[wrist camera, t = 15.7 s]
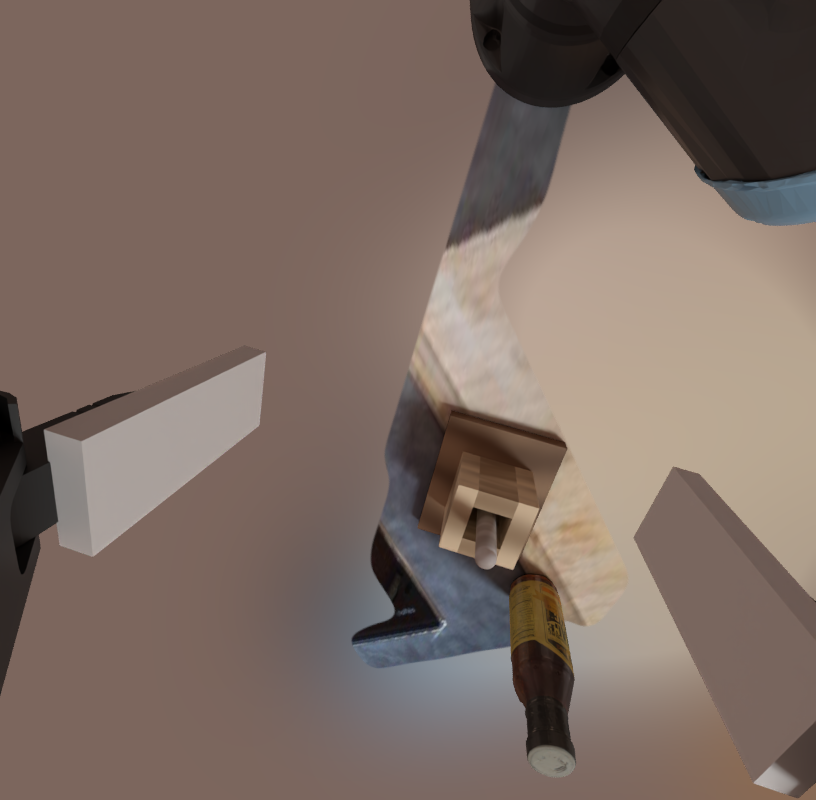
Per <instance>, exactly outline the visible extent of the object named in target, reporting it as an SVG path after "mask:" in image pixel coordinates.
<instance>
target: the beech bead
mask: <svg viewBox="0 0 816 800" xmlns="http://www.w3.org/2000/svg"><path fill="white" fill-rule="evenodd" d="M477 508H478V509H481V510H485V511H488V512H491V513H494V514H496V540H497V561H496V564H495V565H498V566H502V567H505V568H508V569H511V570H513V569H514V567H515V565H516V562H517V560H518V558H519V555H520V553H521V551H522V548H523V546H524V544H525V541H526V539H527V537H528V534H529V532H530V530H531V527H532V525H533V523H534V520H535V518H536V516H537V513H538V511H539V504H538V498H537V493H536V488H535V482H534V477H533V472H532V471H529V470H525V469H522V468H518V467H515V466H511V465H508V464H504V463H501V462H498V461H494V460H491V459H487V458H484V457H480V456H477V455H473V454H470V453H467V452H463V453H462V457H461V460H460V463H459V466H458V469H457V472H456V475H455V479H454V482H453V485H452V488H451V491H450V494H449V498H448V501H447V504H446V507H445V512H444V518H443V524H442V530H441V536H440V542H439V547H441V548H444V549H447V550H450V551H454V552H457V553H460V554H463V555H466V556H470V557H473V558H475V542H476V522H477Z"/></svg>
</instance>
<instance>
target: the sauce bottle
mask: <svg viewBox="0 0 816 800" xmlns="http://www.w3.org/2000/svg"><path fill="white" fill-rule="evenodd" d="M509 608H510V641H511V661H512V667H513V685H514V688H515V691H516V694H517V696H518V698H519V700H520V702H522V703H523V705H524V706H525V708H526V711H525V715H526V718H527V729H528V738H527V741H526V749H527V758H528V761H529V763H530V765H531V766H532V768H533V769H534V770H536V771H537V772H539V773H541V774H544V775H546V776H549V777H564V776H566V775H569V774H570V773H571V772H572V771H573V770H574V768H575V765H576V759H575V749H574V746H573V744H572V742H571V739H570V732H569V725H568V711H569V706H570V701H571V695H572V690H573V685H574V673H573V666H572V662H571V656H570V651H569V644H568V639H567V634H566V628H565V623H564V618H563V612H562V607H561V602H560V597H559V595H558V592H557V589H556V587H555V586H554V585H553V583H552V582H551V581H550V580H548V579H547V578H545V577H544V576H541V575H534V574H528V575H523V576H521V577H519V578H518V579H516V580H515V581H514V582H513V583H512V585H511V588H510V595H509Z"/></svg>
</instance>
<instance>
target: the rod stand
mask: <svg viewBox="0 0 816 800" xmlns="http://www.w3.org/2000/svg"><path fill="white" fill-rule="evenodd" d="M566 451H567V447H566V444H565V442H561V441H558V440H554V439H550V438H547V437H543V436H540V435H536V434H533V433H529V432H526V431H522V430H519V429H515V428H512V427H508V426H505V425H501V424H498V423H494V422H491V421H487V420H484V419H480V418H476V417H473V416H469V415H466V414H462V413H459V412H455V411H451V415H450V418H449V421H448V425H447V428H446V432H445V435H444V438H443V442H442V445H441V449H440V452H439V456H438V459H437V462H436V466H435V469H434V473H433V476H432V479H431V483H430V486H429V490H428V493H427V496H426V500H425V503H424V507H423V510H422V513H421V517H420V520H419V524H418V528H419V529H422V530H425V531H428V532H432V533H435V534H438V535H441V530H442V524H443V518H444V512H445V507H446V504H447V501H448V498H449V494H450V491H451V488H452V485H453V482H454V479H455V475H456V472H457V469H458V466H459V463H460V460H461V457H462V453H463V452H467V453H470V454H473V455H477V456H480V457H484V458H487V459H491V460H494V461H498V462H501V463H504V464H508V465H511V466H515V467H518V468H522V469H525V470H529V471H532V472H533V477H534V482H535V488H536V493H537V498H538V504H539V511H538V513H537V516H536V518H535V520H534V523H533V525H532V527H531V530H530V532H529V534H528V537H527V539H526V541H525V544H524V546H523V548H522V551H521V553H520V555H519V558H518V560H519V559H520V557H521V555H522V552H523V550H524V548H525V545H526V543H527V541H528V539H529V536H530V534H531V532H532V529H533V527H534V525H535V522H536V520H537V518H538V515H539V513H540V511H541V509H542V506H543V504H544V502H545V499H546V497H547V495H548V492H549V490H550V488H551V485H552V483H553V481H554V478H555V476H556V474H557V472H558V469H559V467H560V465H561V462H562V460H563V458H564V455H565V453H566ZM475 561H476V563H477V565H478V566H479V567H480V568H482V569H491V568H492V567H494V566H495V564H496V561H497V540H496V514H494V513H491V512H488V511H485V510H481V509H478V508H477V522H476V542H475Z"/></svg>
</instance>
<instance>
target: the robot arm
mask: <svg viewBox="0 0 816 800" xmlns="http://www.w3.org/2000/svg"><path fill="white" fill-rule="evenodd" d="M470 10H471V22H472V31H473V36H474V40H475V45H476V48H477V51H478V54H479V56H480V59H481V61H482V63H483V65H484V67H485V68H486V70H487V72H488V73H489V75H490V76H491V77H492V79H493V80H494V81H495V82H496V84H497V85H498V86H499V87H500V88H502V89H503V90H504V91H505V92H506V93H508V94H509V95H510V96H512V97H514V98H516V99H517V100H519V101H522V102H524V103H527V104H530V105H534V106H539V107H564V106H569V105H573V104H577V103H580V102H583V101H585V100H587V99H590V98H592V97H594V96H596V95H598V94H599V93H601V92H603V91H604V90H606V89H607V88H609V87H610V86H611V85H613V84H614V83H615V82H616V81H617V80H619V79H620V78H621V77H622V76H623V75H624V74H626V75H627V77H628V78H629V79H630V81H631V82H632V83H633V85H634V86H635V87H636V88H637V90H638V91H639V92H640V94H641V95H642V96H643V98H644V99H645V100H646V102H647V103H648V104H649V105H650V107H651V108H652V109H653V111H654V112H655V113H656V114H657V116H658V117H659V118H660V120H661V121H662V122H663V123H664V125H665V126H666V127H667V129H668V130H669V131H670V133H671V134H672V135H673V136H674V138H675V139H676V140H677V142H678V143H679V144H680V145H681V147H682V148H683V149H684V151H685V152H686V153H687V155H688V156H689V157H690V158H691V160H692V161H693V162H694V164H695V168H694V170H695V172H696V174H697V176H698V177H699V178H700V179H701V180H702V181H703V182H705V183H706V184H708V185H710V186H712V187H714V189H715V190H716V191H717V192H718V193H719V194H720V195H721V197H722V198H723V199H724V200H725V201H726V202H727V204H728V205H729V206H730V207H731V208H732V209H733V210H734V211H735V212H736V213H737V214H738V215H739V216H741V217H742V218H744V219H747V220H751V221H755V222H757V223H762V224H764V225H773V226H783V225H798V224H805V223H811V222H816V0H470ZM265 359H266V352H265V351H261V350H258V349H255V348H251V347H248V346H243V347H240V348H238V349H235V350H233V351H230V352H228V353H226V354H223V355H221V356H218V357H216V358H214V359H211V360H209V361H207V362H205V363H202V364H199V365H197V366H195V367H192V368H190V369H187V370H185V371H183V372H180V373H178V374H175V375H173V376H171V377H168V378H166V379H164V380H161V381H159V382H156V383H154V384H152V385H149V386H147V387H144V388H142V389H140V390H138V391H133V392H128V393H123V394H117V395H112V396H110V397H107V398H105V399H103V400H100V401H97V402H95V403H93V405H92V406H91V405H87V406H85V407H83V408H80V409H78V410H77V411H76V412H70V413H68V414H65V415H63V416H60V417H58V418H55V419H53V420H50V421H48V422H46V423H43V424H41V425H38V426H35V427H33V428H31V429H28V430H26V431H23V432H22V429H21V423H20V417H19V410H18V404H17V398H16V397H14V396H13V395H11V394H10V393H7V392H3V391H0V694H1V691H2V687H3V683H4V680H5V676H6V672H7V668H8V665H9V661H10V658H11V654H12V650H13V647H14V643H15V639H16V636H17V632H18V629H19V625H20V621H21V617H22V614H23V610H24V606H25V603H26V599H27V596H28V592H29V588H30V585H31V581H32V577H33V573H34V570H35V566H36V562H37V559H38V555H39V552H40V539H39V534H40V533H42V532H43V531H45V530H46V529H48V528H49V527H51V526H52V525H54V524H56V523H57V529H58V536H59V543H60V546H63V547H66V548H69V549H72V550H75V551H77V552H81V553H83V554H86V555H89V556H92V557H93V556H94V555H96V554H97V553H98V552H100V551H101V550H102V549H103V548H105V547H106V546H107V545H108V544H110V543H111V542H112V541H113V540H115V539H116V538H117V537H119V536H120V535H121V534H122V533H124V532H125V531H126V530H127V529H129V528H130V527H131V526H132V525H134V524H135V523H136V522H138V521H139V520H140V519H141V518H143V517H144V516H145V515H146V514H148V513H149V512H150V511H151V510H153V509H154V508H155V507H157V506H158V505H159V504H160V503H162V502H163V501H164V500H165V499H167V498H168V497H169V496H170V495H172V494H173V493H174V492H175V491H177V490H178V489H179V488H181V487H182V486H183V485H184V484H186V483H187V482H188V481H189V480H191V479H192V478H193V477H195V476H196V475H197V474H198V473H200V472H201V471H202V470H203V469H204V468H206V467H207V466H208V465H210V464H211V463H212V462H213V461H215V460H216V459H217V458H219V457H220V456H221V455H222V454H224V453H225V452H226V451H227V450H229V449H230V448H231V447H232V446H234V445H235V444H236V443H238V442H239V441H240V440H241V439H242V438H244V437H245V436H246V435H248V434H249V433H250V432H251V431H253V430H254V429H255V428H257V427H258V426H259V424H260V413H261V402H262V391H263V381H264V380H263V379H264V369H265ZM634 539H635V541H636V543H637V545H638V548H639V550H640V552H641V554H642V556H643V558H644V560H645V562H646V564H647V566H648V568H649V570H650V572H651V574H652V576H653V578H654V580H655V582H656V584H657V587H658V588H659V591H660V593H661V595H662V597H663V599H664V601H665V603H666V605H667V607H668V609H669V611H670V613H671V615H672V617H673V619H674V621H675V623H676V625H677V628H678V630H679V632H680V634H681V636H682V638H683V640H684V642H685V644H686V646H687V648H688V650H689V652H690V654H691V656H692V658H693V660H694V663H695V664H696V666H697V669H698V671H699V673H700V675H701V677H702V679H703V681H704V683H705V685H706V687H707V689H708V691H709V693H710V695H711V697H712V699H713V701H714V703H715V706H716V708H717V710H718V712H719V714H720V716H721V718H722V720H723V722H724V724H725V726H726V728H727V730H728V732H729V734H730V736H731V739H732V740H733V743H734V745H735V746H736V749H737V751H738V753H739V755H740V757H741V759H742V761H743V763H744V765H745V767H746V769H747V771H748V773H749V775H750V778H751V780H752V782H753V783H754V784H757V785H761V786H763V787H766V788H769V789H772V790H775V791H778V792H781V793H784V794H787V795H789V796H792V797H796V798H799V797H800V796H801V795H803V794H804V793H805V792H806V791H807V790H808V789H809V788H810V787H811V786H813V785H814V784H815V783H816V601H815V600H814V599H813V598H811V597H810V596H809V595H808V594H807V592H805V590H804V589H803V588H802V587H801V586H800V585H799V584H798V583H797V581H796V580H795V579H794V578H793V577H792V576H791V575H790V574H789V573H788V571H787V570H786V569H785V568H784V567H783V566H782V565H781V564H780V563H779V562H778V560H777V559H776V558H775V557H774V556H773V555H772V554H771V553H770V552H769V551H768V549H767V548H766V547H765V546H764V545H763V544H762V543H761V542H760V541H759V539H757V537H756V536H755V535H754V534H753V533H752V532H751V531H750V530H749V528H748V527H747V526H746V525H745V524H744V523H743V522H742V521H741V520H740V518H739V517H738V516H737V515H736V514H735V513H734V512H733V511H732V510H731V509H730V507H729V506H728V505H727V504H726V503H725V502H724V501H723V500H722V499H721V497H720V496H719V495H718V494H717V493H716V492H715V491H714V490H713V489H712V487H710V485H709V484H708V483H707V482H706V481H705V480H704V479H703V478H702V477H701V475H700V474H697V473H694V472H690V471H687V470H683V469H680V468H676V467H673V468H672V470H671V471H670V473H669V475H668V477H667V479H666V481H665V482H664V484H663V486H662V488H661V489H660V491H659V493H658V495H657V496H656V498H655V500H654V502H653V504H652V505H651V507H650V509H649V511H648V513H647V514H646V516H645V518H644V520H643V521H642V523H641V525H640V527H639V529H638V530H637V532H636V534H635V536H634Z"/></svg>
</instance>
